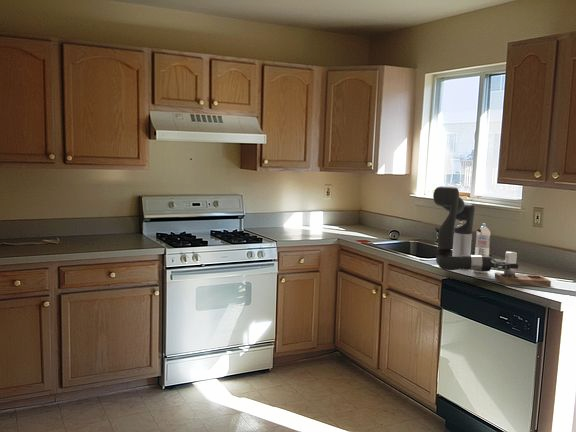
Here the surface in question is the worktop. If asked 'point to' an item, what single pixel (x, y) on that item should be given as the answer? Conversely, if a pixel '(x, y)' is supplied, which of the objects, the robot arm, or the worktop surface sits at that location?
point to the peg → (511, 259)
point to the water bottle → (482, 242)
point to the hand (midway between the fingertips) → (515, 265)
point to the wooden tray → (523, 279)
